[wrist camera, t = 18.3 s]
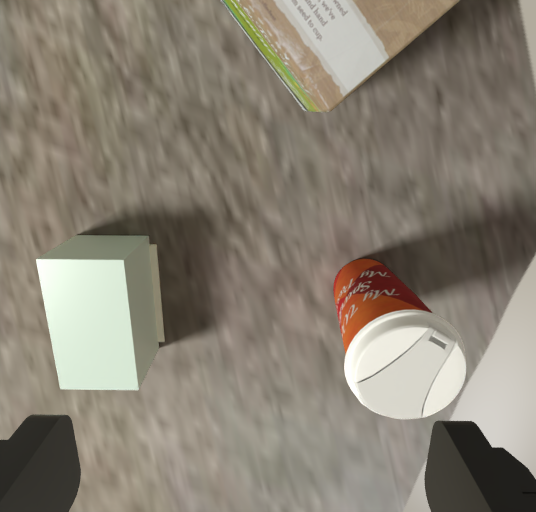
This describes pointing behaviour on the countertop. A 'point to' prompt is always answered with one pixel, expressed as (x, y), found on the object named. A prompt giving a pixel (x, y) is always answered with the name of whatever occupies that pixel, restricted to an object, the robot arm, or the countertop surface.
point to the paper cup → (395, 344)
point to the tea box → (331, 40)
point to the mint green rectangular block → (100, 311)
